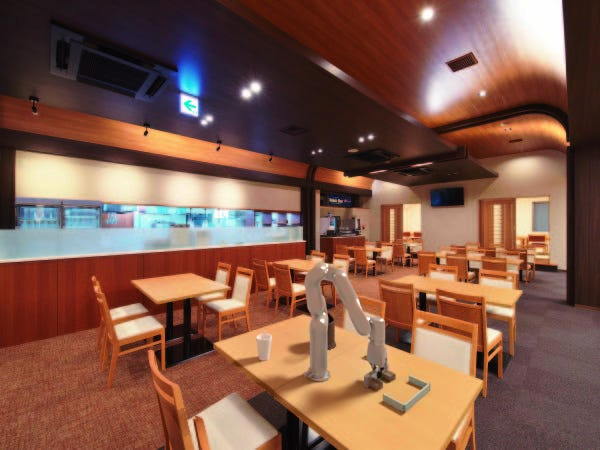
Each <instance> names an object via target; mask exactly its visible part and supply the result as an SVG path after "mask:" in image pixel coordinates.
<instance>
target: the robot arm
mask: <svg viewBox="0 0 600 450" xmlns="http://www.w3.org/2000/svg"><path fill="white" fill-rule="evenodd" d="M323 280H327V281H330V282H332V284H333V286H334V288H335V290H336V292H337V294H338V296H339V298H340V300H341V302H342V304H343V306H344V308H345V310H346V312H347V315H348V316H349V319H350V321H351V323H352V325H353V327H354V329H355V331H356V333H357V334H359V335H360V336H363V337H365V336H366V337H367V336H368V335H369V336H368V338H367V339H369V342H368V343H367V349H366V361H367V362H368V363H369V365H370V367H371V369H372V370H374V369H376V368H377V367H378V379H380V378H381V377H382V370H387V369H388V365H387V363H389V362H388V359H389V358H388V350H387V349H388V348H387V346H386V321H385V319H384V318H383V317H380V316H368V315H366V314H365V313H364V310H363V308H362V306H361V303H360V299H359V297H358V294H357V293H356V291H355V289H354V287H353V285H352V283H351V281H350V279H349V277H348V273H347V272H346V271H345V270H343V269H341V268H338V267H336V266H333V265H331V264H329V263H326V262H321V261H320V262H317V263H316V264H315V265H314V266H313V267H312V268H311V269H309V271H308V272H307V273H306V275H305V278H304V289H305V297H306V307H307V309H308V311H309V313H310V316H311V320H310V323H309V328H308V330H309V331H308V333H309V344H310V345H309V367H307V370H306V371H305V372H303V373H302V375H303V377H304V378H306V377H307V378H308V379H310V380H311V381H314V382H324V381H327V380H329V379H330V377H331V372H330V370H328V351H327V330H328V314H327V312H328V309H327V303H326V302H327V301H326V298H325V296H324V295H323V293H322V287H321V283H322V281H323ZM372 370H371V371H372ZM380 380H381V379H380Z"/></svg>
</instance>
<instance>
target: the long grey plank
mask: <svg viewBox="0 0 600 450" xmlns="http://www.w3.org/2000/svg"><path fill="white" fill-rule="evenodd" d="M387 365H388V369H387V370H382V377H381V378H380V379H378V366H376V367H377V368H376V369H374V370H371V371H368V373H366V374H364V375H363V386H364V387H366V388H369V387H370V382H371V381H373V380H375V379H378V380H380V381H381V379H383V373H385V372H387V371H390V363H389V362H387Z"/></svg>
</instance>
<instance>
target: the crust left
mask: <svg viewBox="0 0 600 450" xmlns="http://www.w3.org/2000/svg"><path fill="white" fill-rule="evenodd" d="M370 389H371V390H374V391H376V392H378V391H380V390H382V389H384V382H383V380H381V379H380V380H378V379H375V380H373V381H371V382H370Z"/></svg>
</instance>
